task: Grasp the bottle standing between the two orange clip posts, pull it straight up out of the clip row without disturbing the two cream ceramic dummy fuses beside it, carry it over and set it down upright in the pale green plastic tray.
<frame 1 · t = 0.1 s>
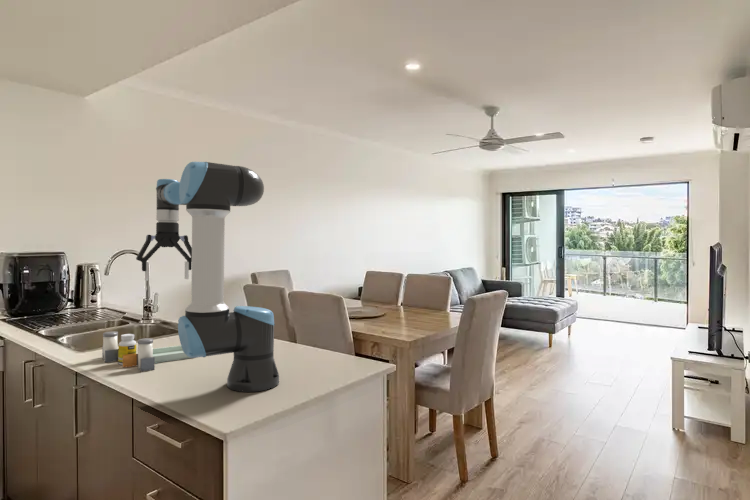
hand: (167, 279, 167), 28 cm above the counter, fingers open, 13 cm apart
supplement bottle: (127, 363, 156), on the counter
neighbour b: (110, 359, 161), on the counter
tray: (170, 356, 166), on the counter
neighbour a: (145, 367, 152), on the counter
clip row: (127, 363, 156), on the counter
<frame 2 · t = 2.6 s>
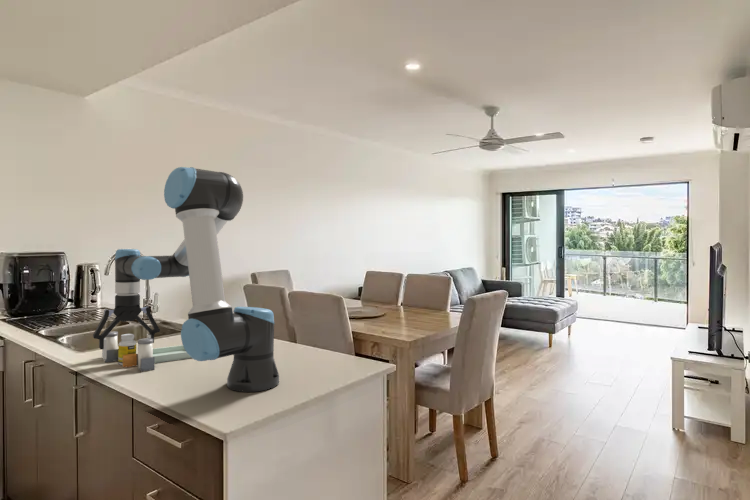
hand: (127, 355, 156), 3 cm above the counter, fingers open, 13 cm apart
nothing on the counter moved.
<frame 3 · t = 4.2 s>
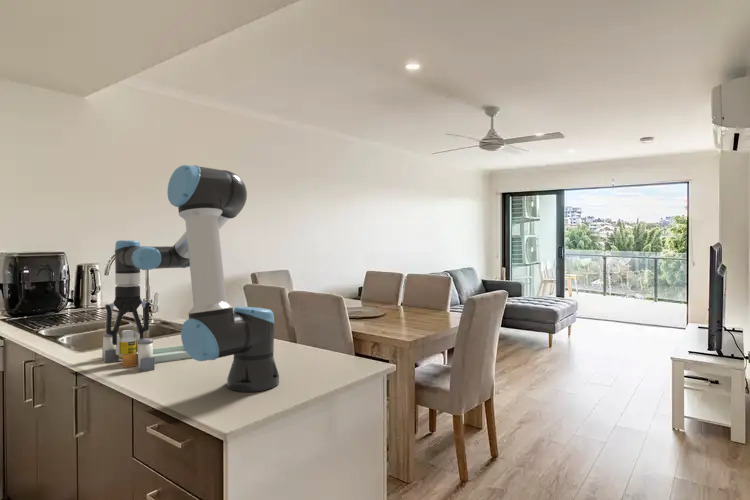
hand: (127, 352, 156), 4 cm above the counter, fingers closed on supplement bottle, 5 cm apart
supplement bottle: (127, 360, 156), point 1 cm above the counter, touching gripper
everything else where it was.
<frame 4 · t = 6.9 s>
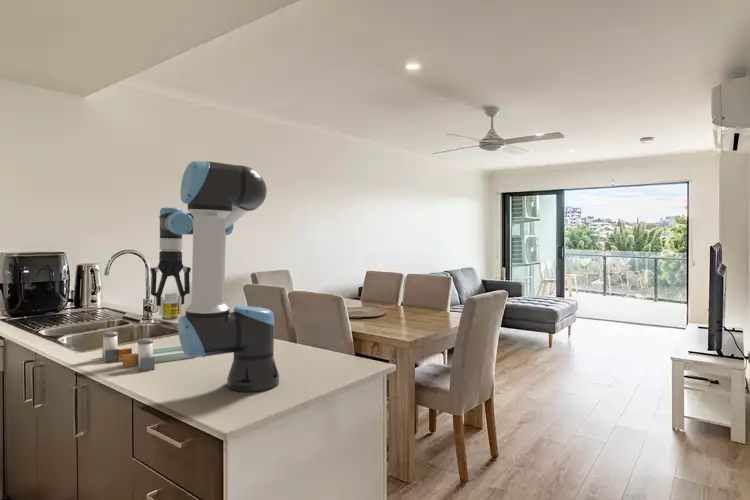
hand: (170, 314, 165), 16 cm above the counter, fingers closed on supplement bottle, 5 cm apart
supplement bottle: (170, 321, 165), point 13 cm above the counter, touching gripper
everything else where it was.
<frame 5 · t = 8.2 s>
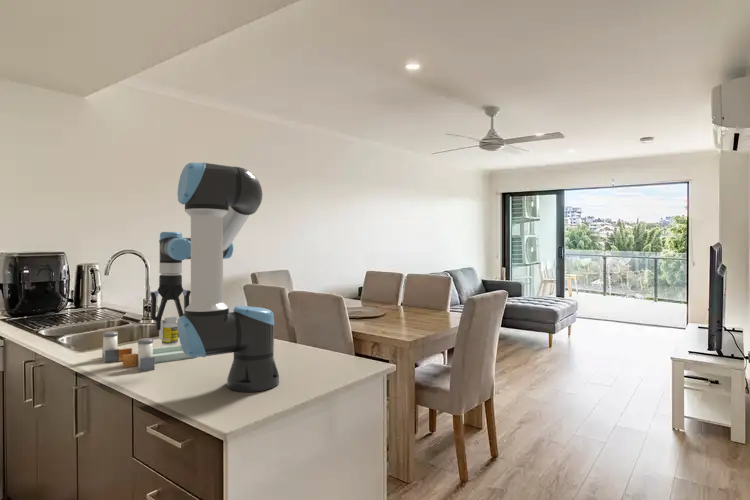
hand: (170, 337, 166), 7 cm above the counter, fingers closed on supplement bottle, 5 cm apart
supplement bottle: (170, 344, 166), point 4 cm above the counter, touching gripper
everything else where it was.
when the fingers open (3 cm above the counter, at t = 9.3 s): supplement bottle stays where it is, resting on tray.
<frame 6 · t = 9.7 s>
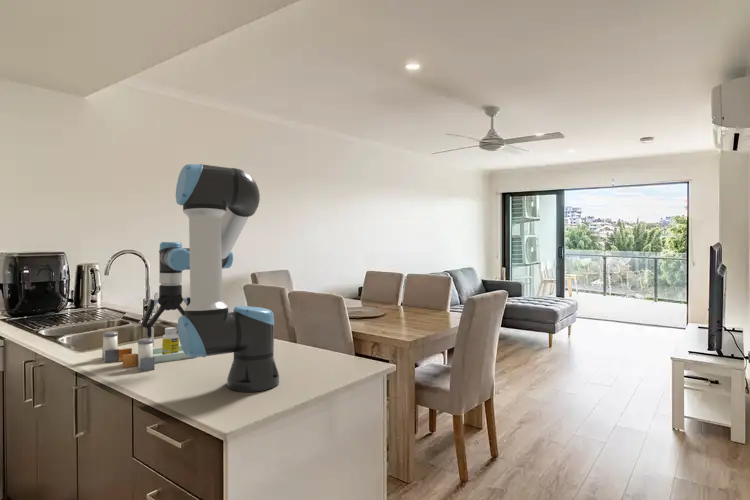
hand: (170, 343, 165), 5 cm above the counter, fingers open, 11 cm apart
supplement bottle: (170, 355, 166), resting on tray
everything else where it was.
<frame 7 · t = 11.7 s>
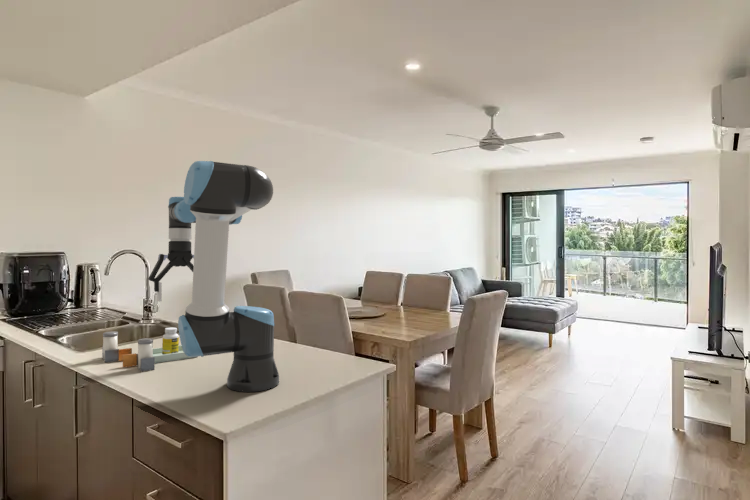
hand: (179, 299, 163), 21 cm above the counter, fingers open, 13 cm apart
nothing on the counter moved.
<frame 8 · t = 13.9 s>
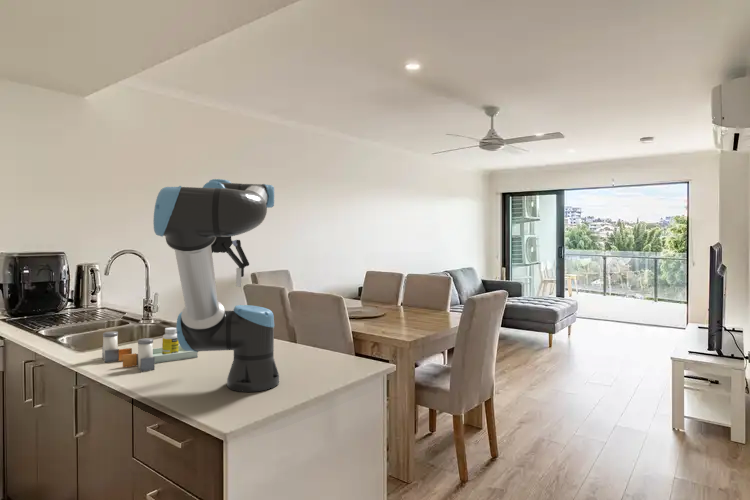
hand: (219, 287, 156), 27 cm above the counter, fingers open, 13 cm apart
nothing on the counter moved.
at the end: supplement bottle inside the target area on the tray (0.1 cm from its centre), point 0.4 cm above the tray's base; supplement bottle tilted 0°; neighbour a moved 0.0 cm from its start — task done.
